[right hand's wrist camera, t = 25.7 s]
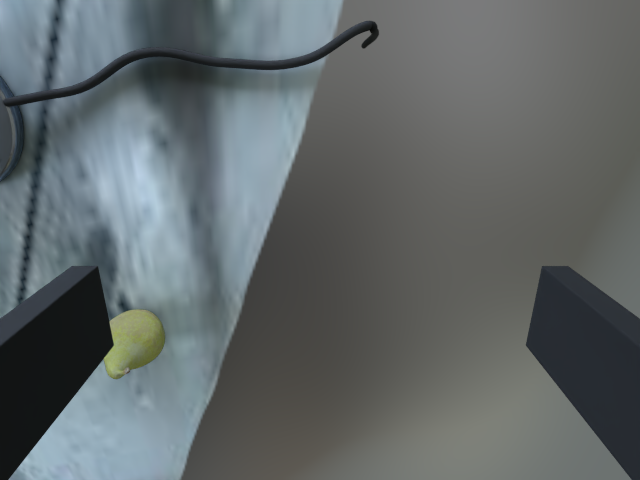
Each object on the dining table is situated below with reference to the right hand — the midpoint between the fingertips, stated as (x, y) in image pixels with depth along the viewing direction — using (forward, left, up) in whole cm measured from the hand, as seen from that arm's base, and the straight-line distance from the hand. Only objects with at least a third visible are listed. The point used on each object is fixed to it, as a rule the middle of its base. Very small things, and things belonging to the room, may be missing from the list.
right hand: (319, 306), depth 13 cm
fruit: (+20, +23, -34) cm, 45 cm away
